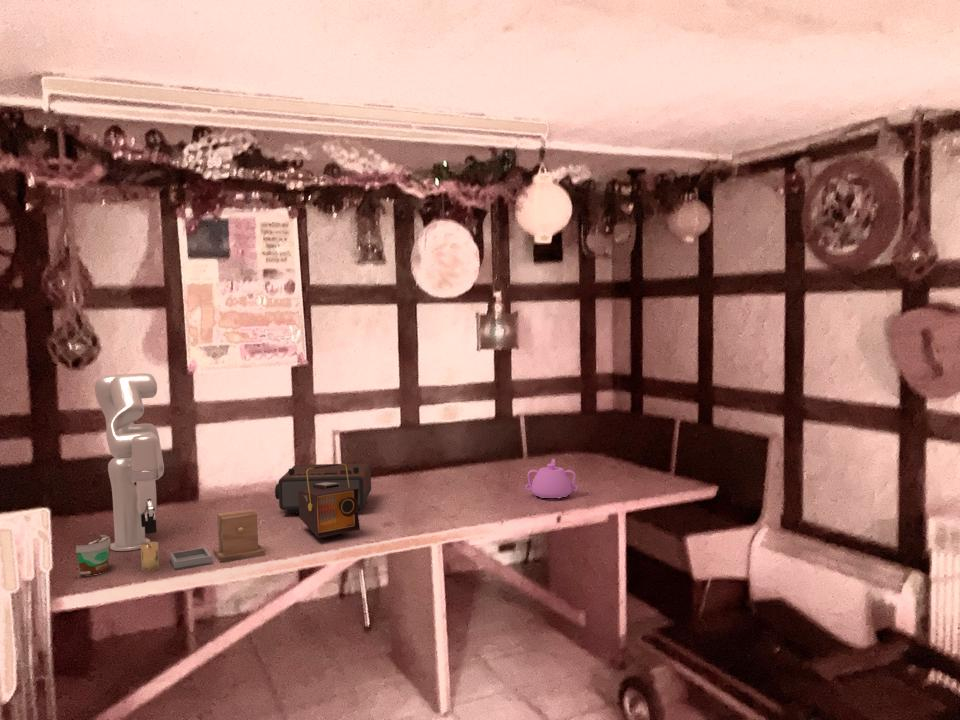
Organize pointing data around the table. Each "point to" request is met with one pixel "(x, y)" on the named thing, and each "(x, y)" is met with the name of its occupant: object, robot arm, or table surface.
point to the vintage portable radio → (329, 508)
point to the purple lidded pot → (551, 482)
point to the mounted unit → (237, 536)
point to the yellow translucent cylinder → (149, 556)
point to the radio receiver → (335, 474)
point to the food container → (94, 556)
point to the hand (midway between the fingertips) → (149, 529)
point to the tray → (190, 558)
